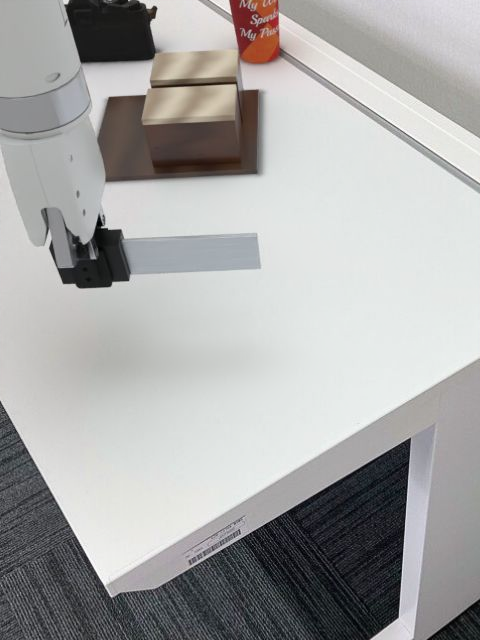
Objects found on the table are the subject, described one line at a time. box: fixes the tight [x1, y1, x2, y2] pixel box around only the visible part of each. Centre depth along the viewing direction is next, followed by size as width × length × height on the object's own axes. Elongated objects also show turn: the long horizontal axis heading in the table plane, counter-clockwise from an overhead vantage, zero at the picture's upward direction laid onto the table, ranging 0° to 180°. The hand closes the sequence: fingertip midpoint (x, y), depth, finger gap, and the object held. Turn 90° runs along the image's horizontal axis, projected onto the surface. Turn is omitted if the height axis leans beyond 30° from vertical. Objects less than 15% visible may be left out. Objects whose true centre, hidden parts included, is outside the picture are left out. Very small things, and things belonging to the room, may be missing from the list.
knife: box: [48, 228, 262, 285], centre depth 69 cm, size 18×2×4 cm, turn 94°
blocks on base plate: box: [97, 48, 260, 182], centre depth 99 cm, size 21×19×8 cm
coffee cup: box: [228, 0, 281, 64], centre depth 110 cm, size 8×8×15 cm
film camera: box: [64, 0, 159, 64], centre depth 114 cm, size 18×12×10 cm
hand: (97, 273), depth 70 cm, fingers closed on knife, 2 cm apart
